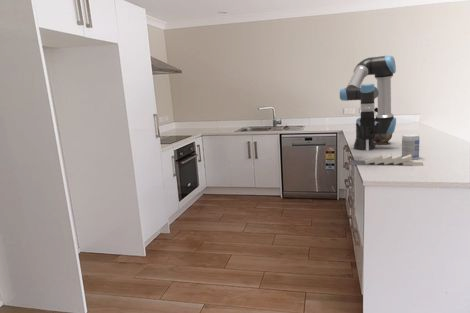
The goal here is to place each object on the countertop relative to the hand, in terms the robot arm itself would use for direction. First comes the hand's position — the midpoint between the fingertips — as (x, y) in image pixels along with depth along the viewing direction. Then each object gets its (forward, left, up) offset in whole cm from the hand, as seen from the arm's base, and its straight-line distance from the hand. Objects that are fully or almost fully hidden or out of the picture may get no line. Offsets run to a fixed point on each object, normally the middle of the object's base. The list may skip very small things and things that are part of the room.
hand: (367, 150), depth 206 cm
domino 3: (0, +9, -7) cm, 12 cm away
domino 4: (0, +14, -7) cm, 16 cm away
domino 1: (0, -1, -7) cm, 7 cm away
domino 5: (0, +19, -7) cm, 20 cm away
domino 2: (0, +4, -7) cm, 8 cm away
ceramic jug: (-72, +8, -9) cm, 73 cm away
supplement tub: (-17, +24, -9) cm, 31 cm away
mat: (-2, +7, -8) cm, 11 cm away
